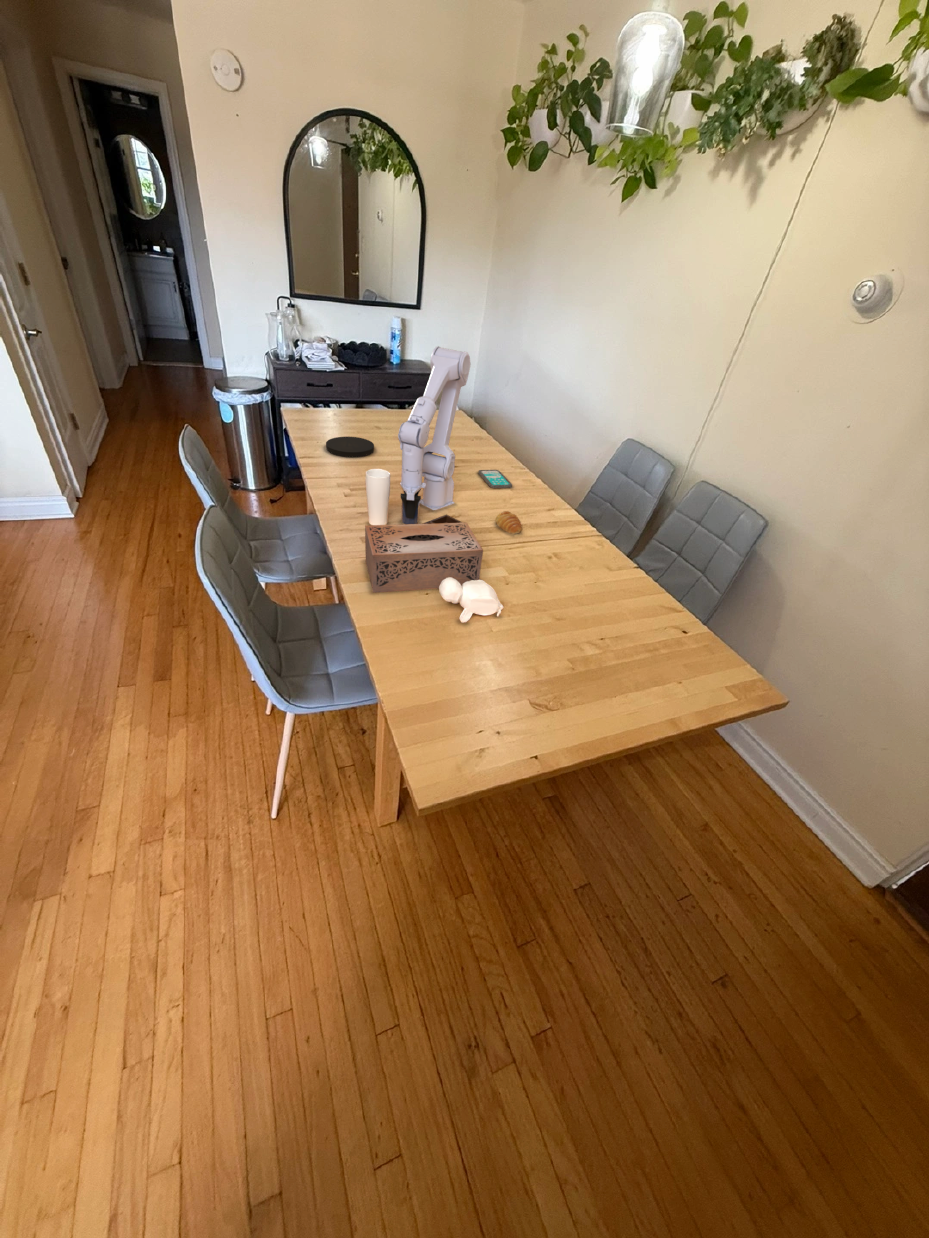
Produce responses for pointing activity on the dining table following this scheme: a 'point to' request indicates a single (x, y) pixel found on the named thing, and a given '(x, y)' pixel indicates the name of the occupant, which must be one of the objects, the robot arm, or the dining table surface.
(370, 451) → the wireless charger
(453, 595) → the white turtle figurine
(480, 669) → the dining table surface
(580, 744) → the dining table surface
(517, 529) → the pastry
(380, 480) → the drinking glass
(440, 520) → the cup holder
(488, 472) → the smartphone
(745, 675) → the dining table surface
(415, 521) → the cup
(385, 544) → the tissue box cover
